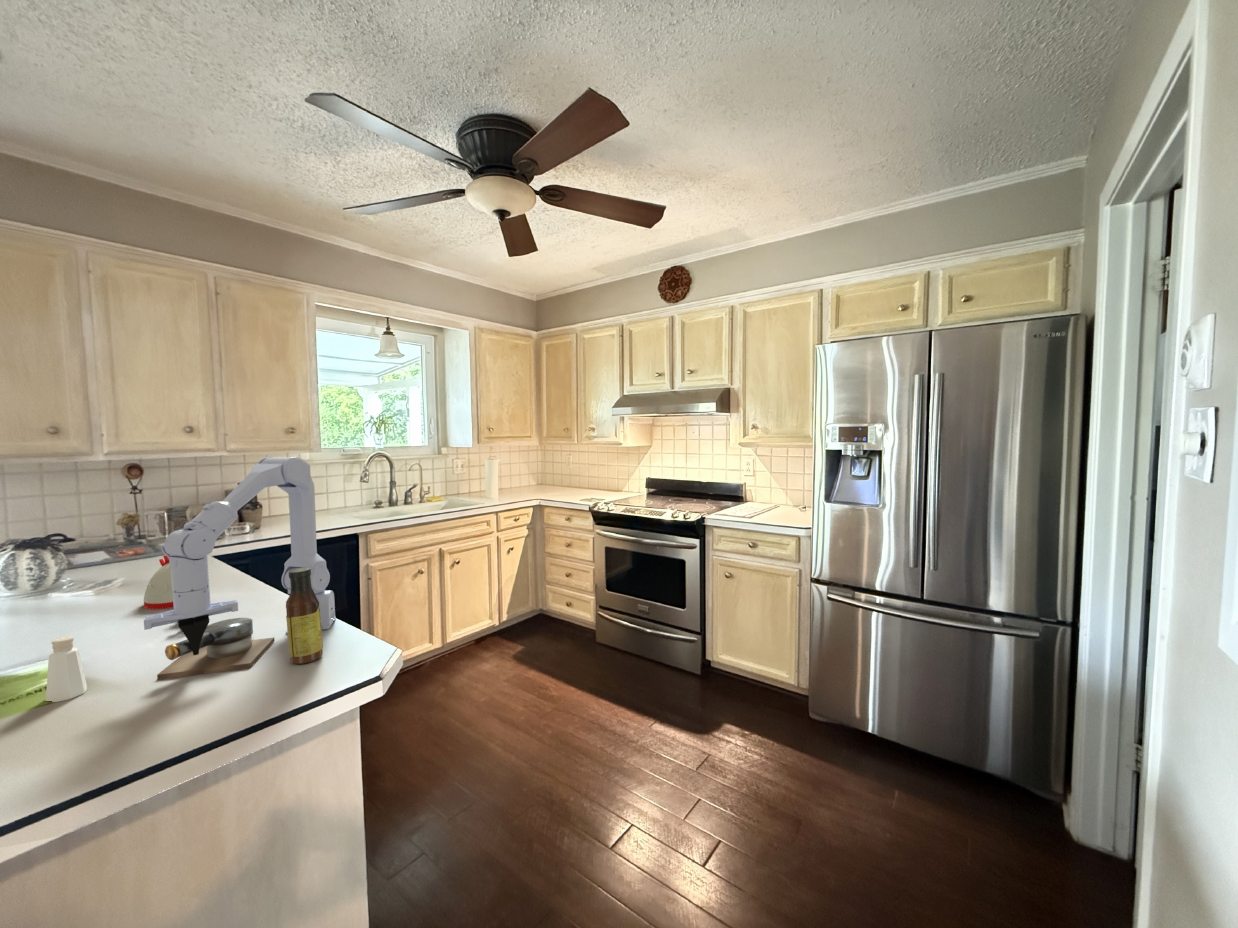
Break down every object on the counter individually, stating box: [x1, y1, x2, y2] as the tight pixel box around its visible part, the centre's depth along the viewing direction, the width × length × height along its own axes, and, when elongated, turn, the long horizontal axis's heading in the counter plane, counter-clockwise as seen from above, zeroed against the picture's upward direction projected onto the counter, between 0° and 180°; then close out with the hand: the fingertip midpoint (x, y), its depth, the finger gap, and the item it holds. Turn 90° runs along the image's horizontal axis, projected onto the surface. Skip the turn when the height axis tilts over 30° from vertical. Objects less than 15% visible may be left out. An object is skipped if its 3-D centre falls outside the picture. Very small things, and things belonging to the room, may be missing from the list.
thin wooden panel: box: [156, 634, 275, 680], centre depth 109 cm, size 16×14×4 cm
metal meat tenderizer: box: [164, 617, 254, 661], centre depth 108 cm, size 16×9×3 cm, turn 164°
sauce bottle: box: [285, 568, 324, 665], centre depth 109 cm, size 6×6×20 cm
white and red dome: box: [143, 554, 174, 610], centre depth 149 cm, size 14×14×15 cm
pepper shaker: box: [45, 635, 88, 703], centre depth 94 cm, size 5×5×11 cm
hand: (195, 653), depth 102 cm, fingers closed
